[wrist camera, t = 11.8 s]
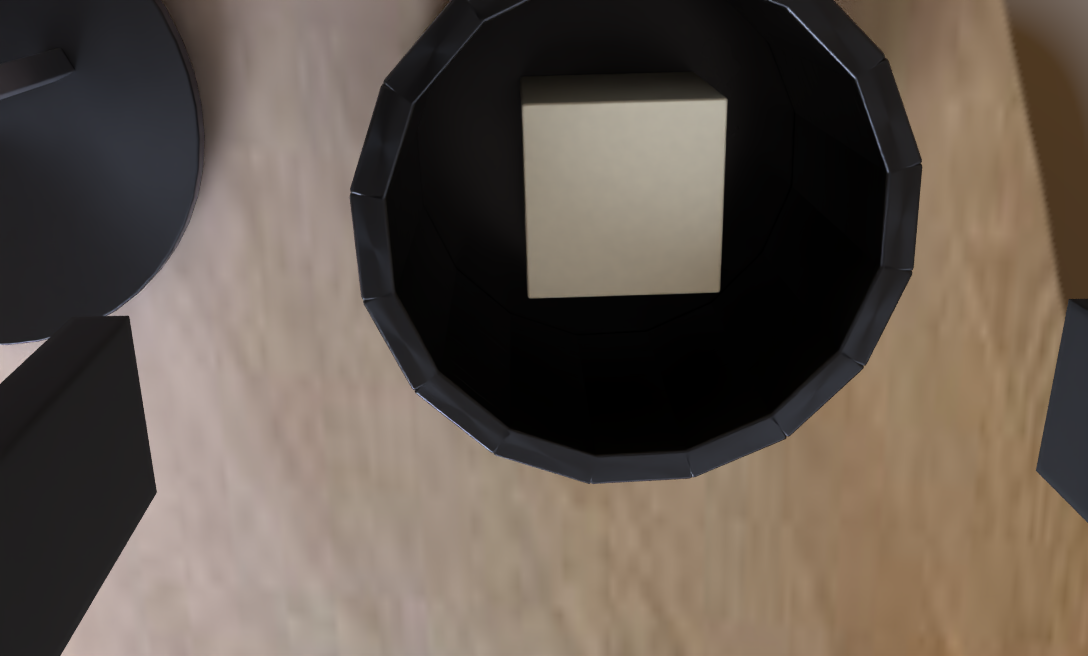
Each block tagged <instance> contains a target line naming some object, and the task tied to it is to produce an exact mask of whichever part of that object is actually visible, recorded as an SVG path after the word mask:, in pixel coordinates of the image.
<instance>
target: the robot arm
mask: <svg viewBox="0 0 1088 656" xmlns="http://www.w3.org/2000/svg"><path fill="white" fill-rule="evenodd" d="M1036 471H1037V472H1038V473H1039V474H1040V475H1041V476H1042V477H1043V478H1044V479H1045V480H1046V481H1047V482H1048V483H1049V484H1050V485H1051V486H1052V487H1053V488H1054V489H1055V490H1056V491H1057V492H1058V493H1059V494H1060V495H1061V496H1062V497H1063V498H1064V499H1065V500H1066V501H1067V502H1068V503H1069V504H1070V505H1071V506H1072V507H1073V508H1074V509H1075V510H1076V511H1077V512H1078V513H1079V514H1080V515H1081V516H1082V517H1083V518H1084V519H1085V520H1086V521H1087V522H1088V299H1069V301H1068V307H1067V312H1066V317H1065V322H1064V327H1063V333H1062V338H1061V343H1060V348H1059V353H1058V359H1057V364H1056V369H1055V374H1054V380H1053V385H1052V390H1051V395H1050V400H1049V406H1048V411H1047V416H1046V421H1045V426H1044V432H1043V437H1042V442H1041V447H1040V452H1039V458H1038V463H1037V468H1036ZM156 493H157V491H156V484H155V478H154V472H153V465H152V459H151V452H150V446H149V440H148V433H147V427H146V421H145V414H144V408H143V401H142V395H141V389H140V382H139V376H138V370H137V363H136V357H135V351H134V344H133V338H132V331H131V325H130V319H129V316H94V317H71V318H70V319H69V320H68V321H67V322H66V323H65V324H64V325H63V326H62V327H61V328H60V329H58V330H57V331H56V332H55V333H54V334H53V335H52V336H51V337H50V338H49V339H48V340H47V341H46V342H45V343H44V344H42V345H41V346H40V347H39V348H38V349H37V350H36V351H35V352H34V353H33V354H32V355H31V356H30V357H29V358H27V359H26V360H25V361H24V362H23V363H22V364H21V365H20V366H19V367H18V368H17V369H16V370H15V371H14V372H12V373H11V374H10V375H9V376H8V377H7V378H6V379H5V380H4V381H3V382H2V383H1V384H0V656H60V655H61V654H62V652H63V650H64V649H65V647H66V645H67V644H68V642H69V640H70V639H71V637H72V635H73V633H74V632H75V630H76V628H77V627H78V625H79V623H80V622H81V620H82V618H83V616H84V615H85V613H86V611H87V610H88V608H89V606H90V605H91V603H92V601H93V600H94V598H95V596H96V594H97V593H98V591H99V589H100V588H101V586H102V584H103V583H104V581H105V579H106V578H107V576H108V574H109V572H110V571H111V569H112V567H113V566H114V564H115V562H116V561H117V559H118V557H119V556H120V554H121V552H122V550H123V549H124V547H125V545H126V544H127V542H128V540H129V539H130V537H131V535H132V534H133V532H134V530H135V528H136V527H137V525H138V523H139V522H140V520H141V518H142V517H143V515H144V513H145V512H146V510H147V508H148V506H149V505H150V503H151V501H152V500H153V498H154V496H155V495H156Z"/></svg>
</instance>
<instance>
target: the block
mask: <svg viewBox="0 0 1088 656" xmlns="http://www.w3.org/2000/svg"><path fill="white" fill-rule="evenodd" d="M520 98H521V130H522V161H523V193H524V225H525V253H526V275H527V296H528V298H530V299H531V298H562V297H593V296H624V295H655V294H686V293H717V292H719V291H720V284H721V259H722V233H723V208H724V182H725V157H726V131H727V106H728V100H727V98H726V97H725V96H723V95H722V94H721V93H720V92H718V91H717V90H716V89H714V88H713V87H712V86H711V85H709V84H708V83H707V82H706V81H704V80H703V79H702V78H700V77H699V76H698V75H697V74H695V73H694V72H665V73H629V74H594V75H558V76H523V77H521V78H520Z"/></svg>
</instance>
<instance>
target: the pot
mask: <svg viewBox="0 0 1088 656" xmlns="http://www.w3.org/2000/svg"><path fill="white" fill-rule="evenodd" d="M665 72H694V73H695V74H697V75H698V76H699V77H700V78H702V79H703V80H704V81H706V82H707V83H708V84H709V85H711V86H712V87H713V88H714V89H716V90H717V91H718V92H720V93H721V94H722V95H723V96H725V97H726V98H727V100H728V106H727V131H726V157H725V182H724V208H723V233H722V259H721V284H720V291H719V292H717V293H686V294H655V295H624V296H593V297H562V298H531V299H530V298H528V296H527V275H526V253H525V225H524V193H523V161H522V130H521V98H520V78H521V77H523V76H558V75H594V74H629V73H665ZM921 162H922V159H921V156H920V153H919V150H918V147H917V144H916V141H915V138H914V135H913V132H912V129H911V126H910V123H909V120H908V117H907V114H906V111H905V108H904V105H903V102H902V99H901V96H900V93H899V91H898V88H897V85H896V82H895V79H894V76H893V73H892V70H891V67H890V64H889V61H888V59H887V58H885V55H884V53H883V52H882V51H881V50H880V49H879V48H878V47H877V46H876V45H875V44H874V42H873V41H872V40H871V39H870V38H869V37H868V36H867V35H866V34H865V33H864V32H863V31H862V30H861V29H860V28H859V27H858V26H857V24H856V23H855V22H854V21H853V20H852V19H851V18H850V17H849V16H848V15H847V14H846V13H845V12H844V11H843V10H842V9H841V8H840V6H839V5H838V4H837V3H836V2H835V1H834V0H451V1H450V2H449V3H448V4H447V6H446V7H445V8H444V9H443V10H442V11H441V13H440V14H439V15H438V16H437V17H436V19H435V20H434V21H433V22H432V23H431V25H430V26H429V27H428V28H427V29H426V31H425V32H424V33H423V34H422V35H421V36H420V38H419V39H418V40H417V41H416V42H415V44H414V45H413V46H412V47H411V48H410V50H409V51H408V52H407V53H406V54H405V56H404V57H403V58H402V59H401V60H400V62H399V63H398V64H397V65H396V66H395V68H394V69H393V70H392V71H391V72H390V74H389V75H388V76H387V77H386V78H385V80H384V83H383V85H382V86H381V88H380V91H379V95H378V98H377V101H376V105H375V108H374V111H373V115H372V118H371V121H370V125H369V128H368V131H367V135H366V138H365V141H364V145H363V148H362V151H361V155H360V158H359V161H358V165H357V168H356V171H355V175H354V178H353V181H352V185H351V188H350V191H351V194H350V204H351V213H352V221H353V230H354V239H355V247H356V256H357V264H358V273H359V282H360V290H361V297H362V299H363V303H364V305H365V307H366V309H367V311H368V312H369V314H370V316H371V318H372V319H373V321H374V323H375V325H376V326H377V328H378V330H379V332H380V333H381V335H382V337H383V339H384V340H385V342H386V344H387V346H388V347H389V349H390V351H391V353H392V354H393V356H394V358H395V360H396V362H397V363H398V365H399V367H400V369H401V370H402V372H403V374H404V376H405V377H406V379H407V381H408V383H409V384H410V386H411V388H412V389H413V390H415V393H416V394H417V395H419V396H420V397H421V398H423V399H424V400H425V401H426V402H428V403H429V404H430V405H431V406H433V407H434V408H435V409H437V410H438V411H439V412H440V413H442V414H443V415H444V416H446V417H447V418H448V419H449V420H451V421H452V422H453V423H454V424H456V425H457V426H458V427H460V428H461V429H462V430H463V431H465V432H466V433H467V434H468V435H470V436H471V437H472V438H474V439H475V440H476V441H477V442H479V443H480V444H481V445H482V446H484V447H485V448H486V449H488V450H489V451H490V452H491V453H494V455H496V456H500V457H503V458H506V459H509V460H513V461H516V462H519V463H523V464H526V465H529V466H532V467H536V468H539V469H542V470H545V471H549V472H552V473H555V474H559V475H562V476H565V477H568V478H572V479H575V480H578V481H582V482H585V483H588V484H590V483H592V484H598V483H616V482H634V481H652V480H670V479H688V478H691V477H696V476H699V475H701V474H703V473H706V472H708V471H711V470H713V469H715V468H718V467H720V466H722V465H725V464H727V463H730V462H732V461H734V460H737V459H739V458H741V457H744V456H746V455H749V454H751V453H753V452H756V451H758V450H761V449H763V448H765V447H768V446H770V445H772V444H775V443H777V442H780V441H782V440H784V439H786V437H787V436H790V435H791V434H792V433H794V432H795V431H796V430H797V429H798V428H799V427H800V426H801V425H802V424H803V423H804V422H806V421H807V420H808V419H809V418H810V417H811V416H812V415H813V414H814V413H815V412H816V411H818V410H819V409H820V408H821V407H822V406H823V405H824V404H825V403H826V402H827V401H828V400H830V399H831V398H832V397H833V396H834V395H835V394H836V393H837V392H838V391H839V390H840V389H842V388H843V387H844V386H845V385H846V384H847V383H848V382H849V381H850V380H851V379H852V378H854V377H855V376H856V375H857V374H858V373H859V372H860V371H861V370H862V369H863V368H864V366H863V365H866V364H867V362H868V360H869V358H870V356H871V354H872V352H873V350H874V348H875V346H876V344H877V342H878V341H879V339H880V337H881V335H882V333H883V331H884V329H885V327H886V325H887V323H888V321H889V319H890V317H891V315H892V313H893V311H894V309H895V307H896V305H897V303H898V301H899V299H900V297H901V295H902V293H903V291H904V289H905V287H906V285H907V283H908V281H909V279H910V277H911V275H912V271H911V270H913V268H914V256H915V245H916V233H917V222H918V210H919V198H920V187H921V175H922V165H921Z"/></svg>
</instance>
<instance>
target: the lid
mask: <svg viewBox="0 0 1088 656" xmlns="http://www.w3.org/2000/svg"><path fill="white" fill-rule="evenodd" d="M204 138H205V135H204V124H203V114H202V104H201V100H200V95H199V91H198V87H197V82H196V78H195V73H194V70H193V68H192V65H191V62H190V59H189V57H188V54H187V51H186V48H185V46H184V43H183V40H182V38H181V36H180V34H179V32H178V30H177V28H176V26H175V24H174V22H173V20H172V18H171V16H170V14H169V12H168V10H167V9H166V7H165V6H164V4H163V3H162V1H161V0H0V345H12V344H20V343H29V342H38V341H42V340H46V339H49V338H50V337H51V336H52V335H53V334H54V333H55V332H56V331H57V330H58V329H60V328H61V327H62V326H63V325H64V324H65V323H66V322H67V321H68V320H69V319H70V318H71V317H94V316H107V315H109V314H111V313H113V312H114V311H116V310H117V309H119V308H120V307H121V306H123V305H124V304H125V303H126V302H128V301H129V300H130V299H132V298H133V297H134V296H135V295H137V294H138V293H139V292H140V291H141V290H142V289H143V288H144V287H145V286H146V285H147V284H148V283H149V282H150V281H151V280H152V279H153V277H154V276H155V275H156V274H157V273H158V272H159V271H160V270H161V269H162V268H163V266H164V265H165V263H166V262H167V260H168V259H169V258H170V256H171V255H172V253H173V252H174V251H175V249H176V248H177V246H178V244H179V242H180V240H181V238H182V236H183V234H184V232H185V230H186V228H187V226H188V224H189V222H190V219H191V216H192V213H193V210H194V207H195V204H196V201H197V198H198V194H199V189H200V183H201V177H202V172H203V166H204Z"/></svg>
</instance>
